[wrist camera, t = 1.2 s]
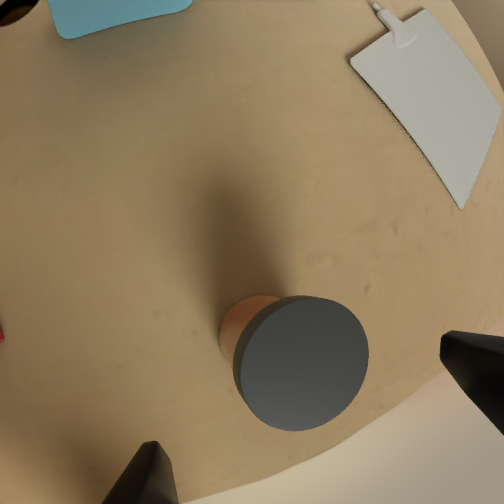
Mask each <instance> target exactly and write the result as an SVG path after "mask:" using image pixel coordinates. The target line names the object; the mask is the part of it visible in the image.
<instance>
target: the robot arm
mask: <svg viewBox="0 0 504 504" xmlns="http://www.w3.org/2000/svg"><path fill="white" fill-rule="evenodd" d="M440 360H441V362H442V363H443V365H444V366H445V367H446V369H447V370H448V371H449V373H450V374H451V375H452V376H453V378H454V379H455V381H456V382H457V383H458V385H459V386H460V387H461V388H462V390H463V391H464V392H465V393H466V394H467V396H468V397H469V398H470V399H471V400H472V401H473V402H474V403H475V404H476V405H477V407H478V408H479V409H480V410H481V411H482V412H483V413H484V414H485V415H486V416H487V417H488V419H489V420H490V421H491V422H492V423H493V424H494V425H495V426H496V428H497V429H498V430H499V431H500V432H501V433H502V434H503V435H504V337H500V336H492V335H484V334H476V333H469V332H462V331H454V330H451V331H449V332H447V333H445V334H444V335H443V336H442V337H441V343H440ZM101 504H179V503H178V497H177V492H176V487H175V482H174V477H173V471H172V465H171V461H170V459H169V457H168V455H167V454H166V453H165V451H164V450H163V448H162V447H161V445H160V444H159V442H157V441H149V442H144V443H143V444H142V445H141V446H140V448H139V449H138V451H137V452H136V454H135V455H134V457H133V458H132V460H131V461H130V463H129V464H128V466H127V467H126V468H125V470H124V471H123V473H122V474H121V476H120V477H119V479H118V480H117V482H116V483H115V484H114V486H113V487H112V489H111V490H110V492H109V493H108V495H107V496H106V498H105V499H104V500H103V502H102V503H101Z"/></svg>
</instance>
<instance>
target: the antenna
mask: <svg viewBox="0 0 504 504" xmlns="http://www.w3.org/2000/svg"><path fill="white" fill-rule="evenodd" d="M372 7H373V8H374V9H375V10H376V11H377V17H378V18H379V19H380V20H381V21H382V22H383V23H384V24H385V26H386V27H387V28H388V30H389V32H388V33H387V34H385V35H384V36H382V37H381V38H379V39H378V40H376V41H375V42H373V43H372V44H371V45H369V46H368V47H366V48H365V49H363V50H362V51H361V52H359V53H358V54H356V55H355V56H354V57H352V58H351V59H350V63H351V65H352V67H353V68H354V69H355V70H356V71H357V72H358V73H359V74H360V75H361V76H362V77H363V79H364V80H365V81H366V82H367V83H368V84H369V85H370V86H371V87H372V89H373V90H374V91H375V92H376V93H377V94H378V95H379V97H380V98H381V99H382V100H383V101H384V102H385V104H386V105H387V106H388V107H389V108H390V110H391V111H392V112H393V113H394V115H395V116H396V117H397V118H398V120H399V121H400V122H401V123H402V125H403V126H404V127H405V129H406V130H407V131H408V132H409V134H410V135H411V136H412V138H413V139H414V141H415V142H416V143H417V145H418V146H419V147H420V149H421V150H422V152H423V153H424V154H425V156H426V157H427V159H428V160H429V162H430V163H431V164H432V166H433V167H434V169H435V170H436V172H437V173H438V175H439V176H440V178H441V180H442V181H443V183H444V184H445V186H446V187H447V189H448V191H449V192H450V194H451V195H452V197H453V199H454V200H455V202H456V204H457V205H458V207H459V208H463V207H464V205H465V203H466V201H467V199H468V197H469V194H470V192H471V190H472V188H473V186H474V183H475V181H476V179H477V176H478V174H479V172H480V169H481V167H482V164H483V162H484V159H485V157H486V154H487V152H488V149H489V147H490V144H491V141H492V139H493V136H494V133H495V130H496V127H497V124H498V122H499V119H500V115H501V112H502V110H501V107H500V105H499V104H498V102H497V100H496V99H495V97H494V95H493V94H492V92H491V91H490V89H489V88H488V86H487V84H486V83H485V81H484V80H483V78H482V77H481V75H480V74H479V73H478V71H477V70H476V68H475V67H474V65H473V64H472V63H471V61H470V60H469V59H468V57H467V56H466V54H465V53H464V52H463V51H462V49H461V48H460V47H459V45H458V44H457V43H456V42H455V40H454V39H453V38H452V37H451V35H450V34H449V33H448V32H447V31H446V29H445V28H444V27H443V26H442V25H441V24H440V22H439V21H438V20H437V19H436V18H435V17H434V16H433V15H432V13H431V12H430V11H429V10H427V9H424V10H422V11H420V12H419V13H417V14H416V15H414V16H413V17H411V18H409V19H408V20H406V21H405V22H402V21H400V20H399V19H398V18H397V17H396V16H394V15H393V14H392V13H391V12H390V11H389V10H388V9H385V8H384V9H382V8H381V7H380V6H379V5H378V4H377V3H374V4H373V5H372ZM466 191H467V193H466Z"/></svg>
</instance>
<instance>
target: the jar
mask: <svg viewBox="0 0 504 504" xmlns="http://www.w3.org/2000/svg"><path fill="white" fill-rule="evenodd" d="M280 299H281V298H277V297H273V296H268V295H255V296H251V297H248V298H245V299H243V300H241V301H239V302H238V303H237V304H235V305H234V306H233V307H232V308H231V309H230V310H229V311H228V313H227V314H226V315H225V317H224V319H223V321H222V323H221V327H220V331H219V345H220V349H221V352H222V354H223V356H224V358H225V360H226V361H227V363H228V364H229V365H230V367H231V368H232V369H233V357H234V351H235V348H236V344H237V342H238V339H239V337H240V335H241V333H242V331H243V330H244V328H245V326H246V325H247V324H248V323H249V321H250V320H251V319H252V318H253V317H254V316H255V315H256V314H257V313H258V312H259V311H261V310H262V309H263V308H265V307H266V306H268V305H269V304H271V303H273V302H275V301H278V300H280Z"/></svg>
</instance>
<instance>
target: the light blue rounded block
mask: <svg viewBox="0 0 504 504" xmlns="http://www.w3.org/2000/svg"><path fill="white" fill-rule="evenodd" d="M47 2H48V5H49V8H50V12H51V15H52V18H53V21H54V24H55V27H56V30H57V33H58V34H59V35H60V36H61V37H63V38H66V39H74V38H78V37H81V36H84V35H87V34H90V33H93V32H96V31H100V30H103V29H106V28H110V27H113V26H117V25H121V24H125V23H129V22H133V21H137V20H141V19H145V18H150V17H155V16H160V15H165V14H170V13H176V12H179V11H182V10H184V9H185V8H187V7H188V6H189V5H190V4H191V3H192V2H193V0H47Z"/></svg>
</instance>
